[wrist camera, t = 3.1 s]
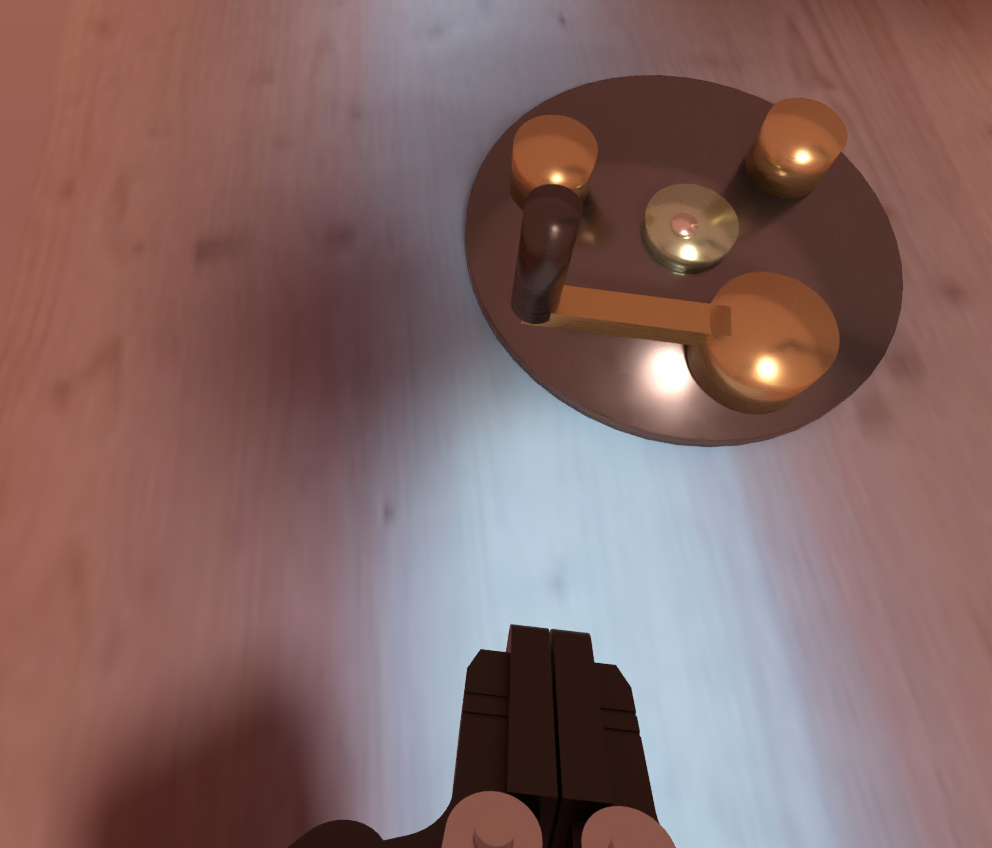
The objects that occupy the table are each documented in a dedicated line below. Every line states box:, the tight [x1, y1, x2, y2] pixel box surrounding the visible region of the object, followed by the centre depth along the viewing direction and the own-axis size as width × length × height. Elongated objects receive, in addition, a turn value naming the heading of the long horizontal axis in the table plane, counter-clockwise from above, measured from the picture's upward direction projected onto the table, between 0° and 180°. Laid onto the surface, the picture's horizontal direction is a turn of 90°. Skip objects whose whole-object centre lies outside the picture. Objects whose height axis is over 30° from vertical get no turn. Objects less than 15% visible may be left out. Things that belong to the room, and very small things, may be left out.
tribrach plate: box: [466, 75, 903, 447], centre depth 36 cm, size 24×24×4 cm
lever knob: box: [511, 184, 839, 415], centre depth 29 cm, size 15×6×9 cm, turn 84°
